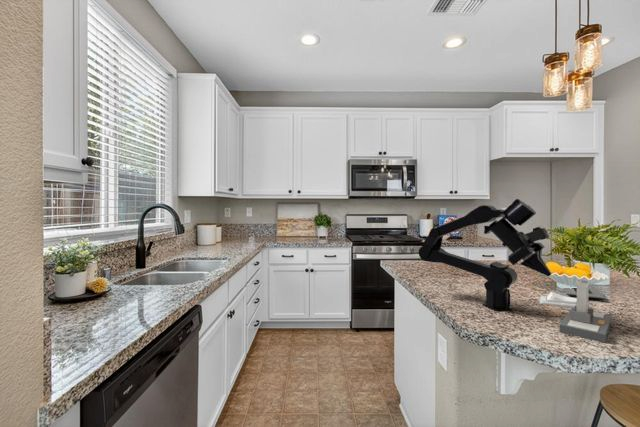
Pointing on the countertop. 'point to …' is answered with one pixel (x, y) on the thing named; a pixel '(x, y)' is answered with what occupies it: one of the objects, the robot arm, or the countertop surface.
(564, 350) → the countertop surface
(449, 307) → the countertop surface
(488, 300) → the robot arm
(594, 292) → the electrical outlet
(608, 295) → the countertop surface
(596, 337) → the grey stand base
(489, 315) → the countertop surface
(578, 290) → the handle
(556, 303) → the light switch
